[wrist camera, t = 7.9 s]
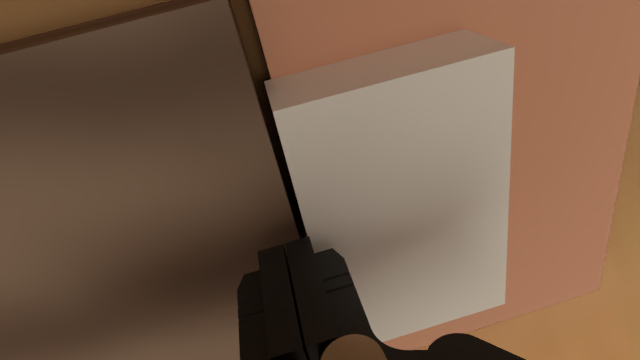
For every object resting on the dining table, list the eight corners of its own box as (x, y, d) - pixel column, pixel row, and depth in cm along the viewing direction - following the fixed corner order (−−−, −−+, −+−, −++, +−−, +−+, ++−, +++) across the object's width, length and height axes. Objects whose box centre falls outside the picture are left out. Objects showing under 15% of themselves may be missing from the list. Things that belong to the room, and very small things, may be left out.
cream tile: (263, 81, 12) (272, 111, 10) (463, 28, 12) (515, 46, 10) (325, 301, 17) (340, 355, 14) (469, 258, 17) (505, 304, 15)
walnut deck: (-156, 84, 11) (-249, 119, 9) (225, -14, 11) (226, -4, 9) (102, 396, 18) (86, 457, 16) (327, 325, 19) (341, 375, 17)
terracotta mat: (219, -105, 10) (218, -109, 10) (660, -212, 11) (696, -224, 10) (346, 351, 20) (352, 369, 19) (583, 275, 20) (599, 290, 20)
